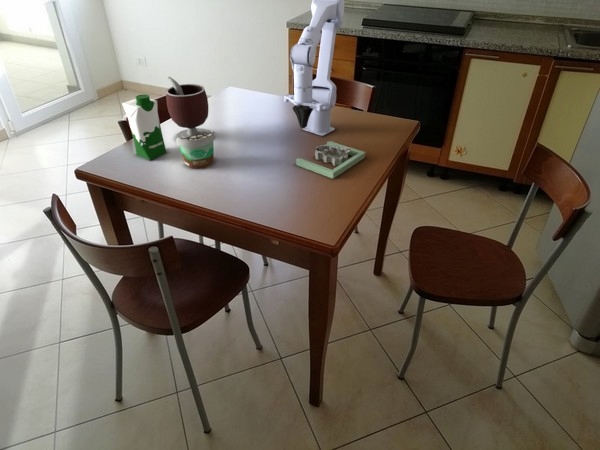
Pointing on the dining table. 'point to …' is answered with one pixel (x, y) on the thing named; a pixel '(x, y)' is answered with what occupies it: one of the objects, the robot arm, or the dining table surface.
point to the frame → (339, 169)
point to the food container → (197, 150)
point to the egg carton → (331, 154)
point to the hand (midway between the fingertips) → (303, 127)
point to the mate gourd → (187, 107)
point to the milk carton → (145, 127)
